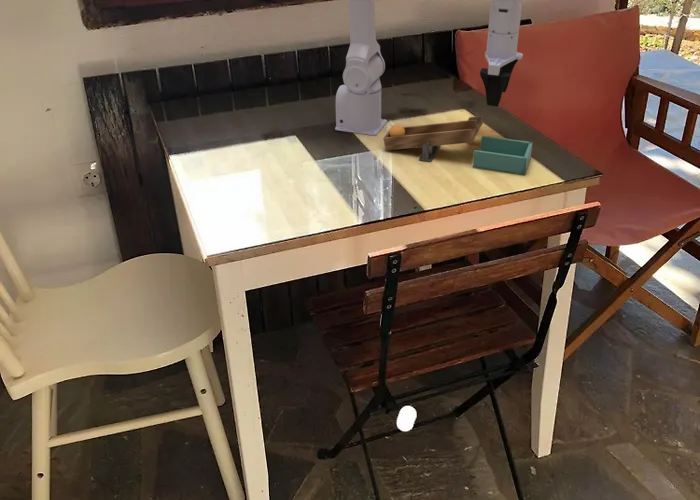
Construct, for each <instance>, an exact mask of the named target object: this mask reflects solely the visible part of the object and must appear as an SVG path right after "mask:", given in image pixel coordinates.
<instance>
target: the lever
mask: <svg viewBox="0 0 700 500" xmlns="http://www.w3.org/2000/svg"><path fill="white" fill-rule="evenodd" d="M484 122H485V115H477V116H469V118H468V119H467V120H460V121H452V122H451V121H450V122H440V123H439V122H438V123H432V124H429V123H428V124H422V125H409V126H403V128H404V129H405V135H404V136H394V137H390V134H389V131H390V129H388V131H387V133H386V134H385V135H384V137H383V138H382V139H383V144H384V147H385V148H384V149H385V151H392V150H393V151H395V150H404V149H405V150H406V149H415V148H423V143H428V144H429V146H439V145H441V146H448V145H449V146H450V145H456V144H457V145H461V144H470V143H473V142H474V140H475V139H476V137H477V135H478V133H479V131H480V130H481V128H482V125H484V124H483V123H484Z"/></svg>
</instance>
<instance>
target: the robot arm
mask: <svg viewBox="0 0 700 500" xmlns="http://www.w3.org/2000/svg"><path fill="white" fill-rule="evenodd" d="M522 2H523V0H491V3H490V8H489V16H488V17H489V19H488V28H487V37H486V38H487V39H486V50H485V52H484V56H485V60H486V61H487V64H488V66H487V68H485V67H484V68H481V69H480V71H479V76H480V78H481V81H482V83H483V87H484V90H485V91H484V92H485V98H486V104H487V106H489V107H490V106H491V107H499V104H500V103H501V100H502V96H503V93H506V91H507V89H508V86H509V83H510V79H511V76H512V73H513V70H514V68H515V66H516V65H517V62H518V61H521V60H522V59H523V56H524V53H522V52H518V44H519V43H518V41H519V35H520V34H519V33H520V25H521V18H522V17H521V15H522V8H523V6H522ZM347 7H348V23H349V24H348V25H349V26H348V27H349V40H350V44H349V47H348V51H347V54H346V56H345V68H344V70H343V72H342V79H343V80H342V81H343V84H341V85H339V87H338V89H337V91H336V94H335V124H336V125H335V128H334V130H335V131H338V132H339V131H340V132H346V133H353V134H361V135H368V136H374V137H375V136H378V134H379V132H380V131H381V130H382V129H383V128H384V126H385V125H386V124H387V123H388V120H387V119H385V118H382V84H381V83H382V82H381V80H380V79H381V78H380V77H382V75H383V74H384V72H385V70H386V63H385V60H384V58H383V56H382V53H381V46H380V44H379V42H378V41H377V32H376V11H375V8H376V7H375V0H347Z"/></svg>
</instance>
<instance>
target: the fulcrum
mask: <svg viewBox="0 0 700 500" xmlns="http://www.w3.org/2000/svg"><path fill="white" fill-rule="evenodd" d="M441 147H442V145H439V146H429V144H428V143H423V147H422V153H420V156H419V157H418V161H421V162H424V163H425V162H427V163H431V162H432V161H433V159H434V158H435V156H436V154H437V153H438V152H439V150H440V148H441Z"/></svg>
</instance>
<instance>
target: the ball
mask: <svg viewBox="0 0 700 500" xmlns="http://www.w3.org/2000/svg"><path fill="white" fill-rule="evenodd" d="M403 127H404V126H403V125H401V124H393V125H391V127H390V128H389V130H390V131H389V130H388V132H389V134H390V137H394V136H404V135H405V129H404V128H403Z"/></svg>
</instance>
